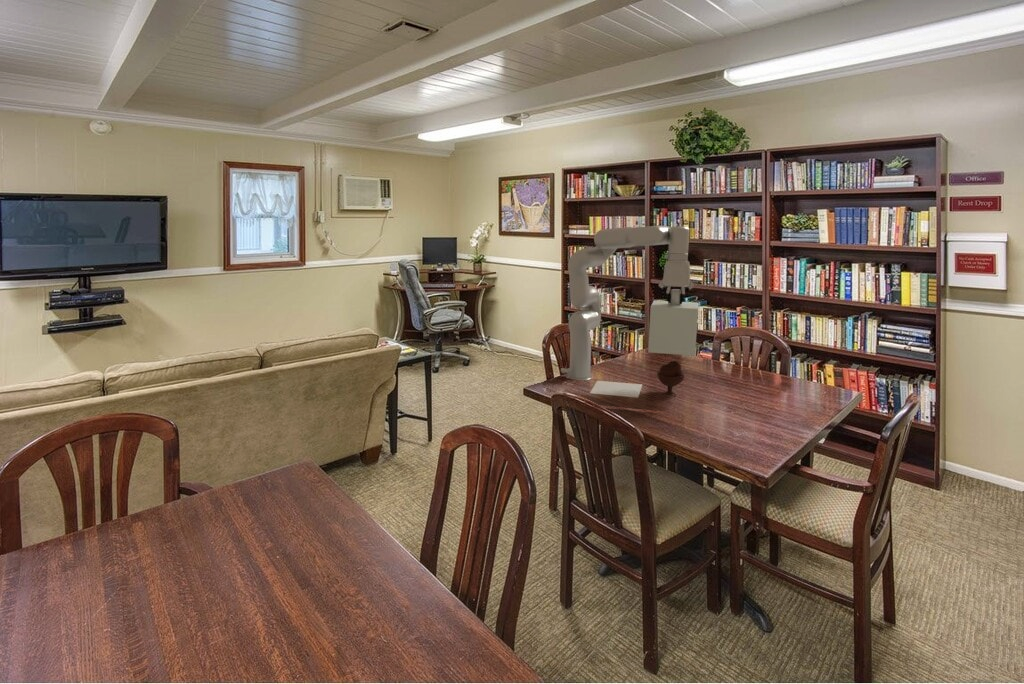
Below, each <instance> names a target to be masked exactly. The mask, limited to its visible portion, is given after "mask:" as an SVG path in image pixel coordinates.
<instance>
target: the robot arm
mask: <svg viewBox="0 0 1024 684" xmlns="http://www.w3.org/2000/svg"><path fill="white" fill-rule="evenodd" d="M593 240H594V244H595V247H587V248H586V247H585V248H581V249H578V250H576V251H575V252H574V253H572V254H571V256H570V258H569V259H568V264H567V265H568V267H567V269H568V274H569V275H568V276H569V295H570V296H569V297H570V303H571V305H572V306H573V307H574V308H575V309H582V310H579V311H576V312H574V313H572V314H571V315H570V317H569V319H568V329H569V335H570V336H569V337H570V338H569V339H570V340H569V341H570V342H569V343H570V344H569V347H570V349H569V351H570V352H569V367H568V368H562V367H561V368H560V373H562V374H566V376H565V378H566V379H571V380H575V381H588V380H589V381H590V380H592V379H594V375H593V374H591V366H592V365H591V363H592V360H591V359H592V358H591V357H592V338H591V334H590V331H591V330H594V329H596V328H597V327H599V325H601V324H600V323H601V320H602V313H601V296H600V292H599V291H598V289H597V288H596V287H594V286H593V285H590V284H589V283H590V282H589V275H588V272H587V269H588V268H595V267H600V266H602V265H604V264H605V263H606V261H608V260H609V259H610V257H612V255H613V254H614V253H615V252H616V251H617V249H627V248H632V247H645V246H646V247H647V246H660V245H662V246H663V245H668V253H667V254H664V259H667V261H665V265H664V269H663V278H662V280H661V281H660V282H659V284H658V287H659V288H661V289H662V290H663V291H664V292H665V293H666V301H668V304H670V296H671V288H672V287H677V288H678V287H679V288H681V289H680V290H681V296H680V304H682V302H685V294H686V293H688V291H690V290H692V289H694V287H695V285H694V283H693V281H692V279H691V264H690V261H689V260H688V259H689V258H688V257H689V245H690V228H689V227H688V226H669V225H668V226H667V225H651V226H639V227H638V226H637V227H632V226H626V227H614V228H603V229H600V230H598V231H597V232H596V233H595V234H594V237H593Z"/></svg>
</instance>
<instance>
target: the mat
mask: <svg viewBox="0 0 1024 684" xmlns="http://www.w3.org/2000/svg"><path fill="white" fill-rule="evenodd" d="M642 387H643V384H641V383H628V382H619V381H618V382H617V381H616V382H615V381H605V380H604V381H603V380H596V382H595V384H594V386H593V387H592V389H591V391H590V392H589V394H593V395H607V396H617V397H627V398H639V396H640V393H641V391H642Z"/></svg>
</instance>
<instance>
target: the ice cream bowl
mask: <svg viewBox="0 0 1024 684" xmlns="http://www.w3.org/2000/svg"><path fill="white" fill-rule="evenodd" d="M656 373H657V377H658V380H659V382H660V383H662V384H663V385H664V386H666V387H667V391H665V392H664V394H665V395H670V396H671V395H674V396H673V398H676V397H677V395H676V393H675V392H673V387H675V386H677V385H679V384H681V383H682V382H683V380H684V379H685V374H684V373H683V370H682V366H681V364H680V363H679V362H678V361H675V360H674V361H669V362H668V363H666V364H663V365H661V367H660V368H659V370H658V371H657V372H656ZM675 396H676V397H675Z"/></svg>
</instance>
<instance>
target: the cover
mask: <svg viewBox="0 0 1024 684" xmlns="http://www.w3.org/2000/svg"><path fill="white" fill-rule="evenodd" d="M681 292H682V289H677V288H675V289H674V288H672V289H670V293H671V296H670V304H668V301H667V300H666V301H665V300H653V301H652V303H651V305H650V311H649V314H650V315H649V331H648V333H649V334H648V346H647V347H648V348H647V350H648V351H647V353H651V354H652V353H653V354H665V355H666V354H667V355H678V356H696V347H697V333H698V331H697V330H698V320H699V319H698V317H699V302H694V301H693V302H692V301H691V302H689V301H684V302H682V304H680V296H681Z"/></svg>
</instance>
